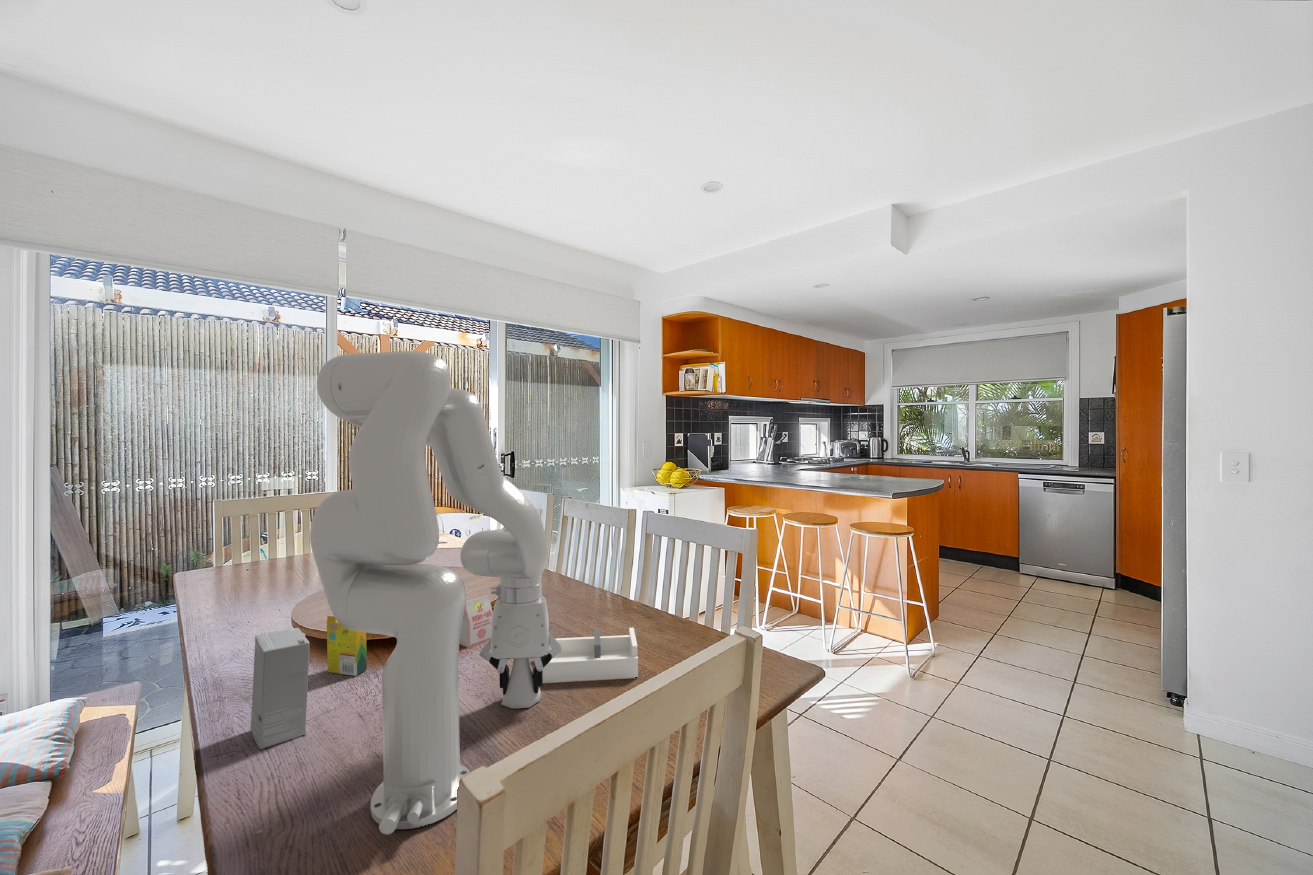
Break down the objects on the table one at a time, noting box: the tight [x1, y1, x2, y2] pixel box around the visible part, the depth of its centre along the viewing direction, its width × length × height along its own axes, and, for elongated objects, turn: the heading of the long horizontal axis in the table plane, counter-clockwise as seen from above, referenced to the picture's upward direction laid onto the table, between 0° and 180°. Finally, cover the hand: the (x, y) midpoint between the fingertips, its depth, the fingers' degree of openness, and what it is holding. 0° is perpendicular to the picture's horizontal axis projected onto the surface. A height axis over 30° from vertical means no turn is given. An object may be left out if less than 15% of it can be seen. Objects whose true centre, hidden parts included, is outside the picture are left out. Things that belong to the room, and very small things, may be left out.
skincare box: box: [250, 627, 311, 750], centre depth 89 cm, size 8×7×16 cm
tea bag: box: [459, 594, 494, 649], centre depth 127 cm, size 4×7×10 cm, turn 143°
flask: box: [500, 658, 542, 710], centre depth 100 cm, size 7×7×10 cm
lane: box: [543, 627, 639, 684], centre depth 113 cm, size 12×20×6 cm, turn 97°
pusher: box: [593, 628, 601, 658], centre depth 113 cm, size 9×1×5 cm, turn 7°
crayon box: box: [326, 615, 368, 677], centre depth 111 cm, size 7×3×12 cm, turn 74°
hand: (521, 689), depth 100 cm, fingers open, 4 cm apart
